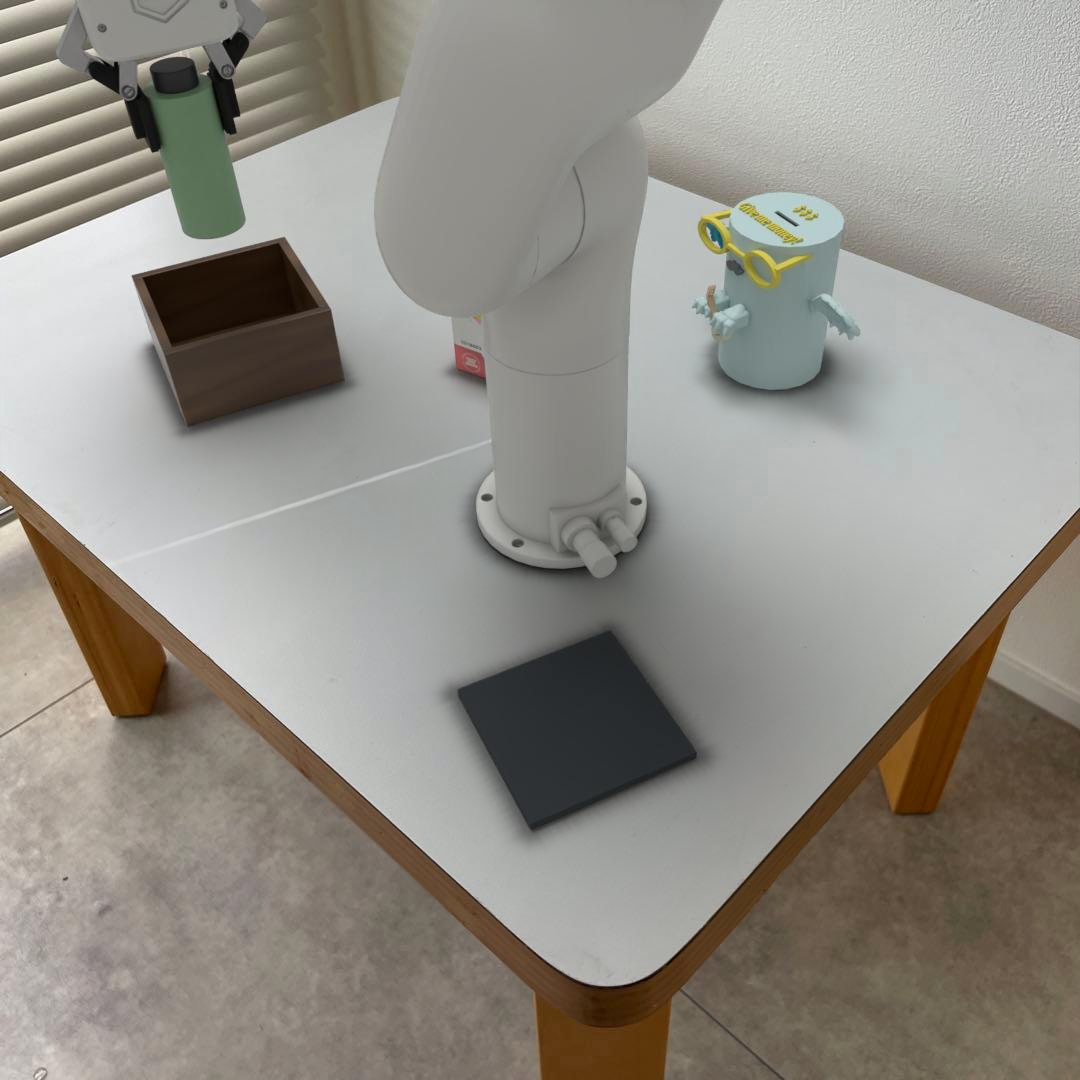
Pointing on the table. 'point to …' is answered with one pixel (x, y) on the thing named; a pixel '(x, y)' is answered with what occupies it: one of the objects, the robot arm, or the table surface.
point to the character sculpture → (775, 288)
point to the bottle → (194, 149)
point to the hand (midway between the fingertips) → (190, 134)
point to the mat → (574, 727)
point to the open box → (239, 329)
